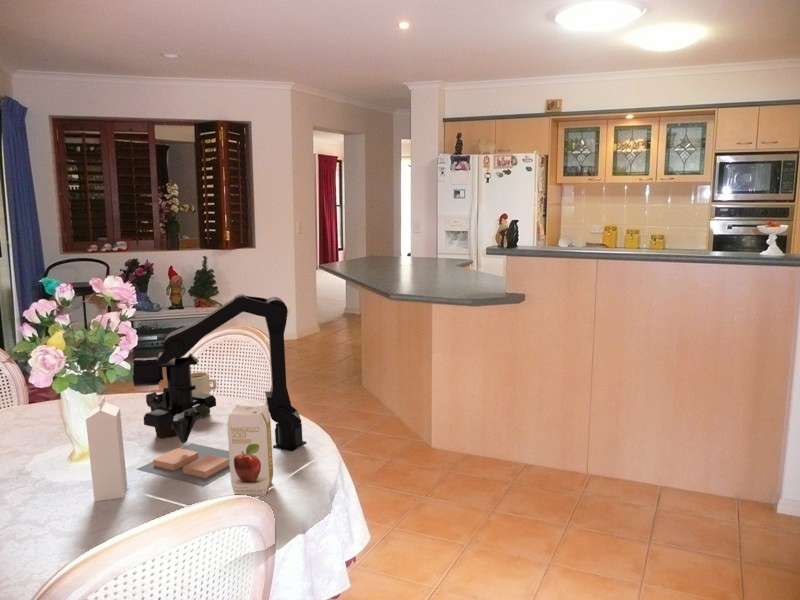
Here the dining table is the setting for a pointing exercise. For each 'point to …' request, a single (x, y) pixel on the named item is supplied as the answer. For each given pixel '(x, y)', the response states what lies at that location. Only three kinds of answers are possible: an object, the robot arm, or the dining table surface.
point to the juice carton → (250, 449)
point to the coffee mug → (165, 431)
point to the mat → (188, 478)
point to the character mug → (202, 389)
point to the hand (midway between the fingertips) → (183, 442)
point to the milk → (106, 452)
